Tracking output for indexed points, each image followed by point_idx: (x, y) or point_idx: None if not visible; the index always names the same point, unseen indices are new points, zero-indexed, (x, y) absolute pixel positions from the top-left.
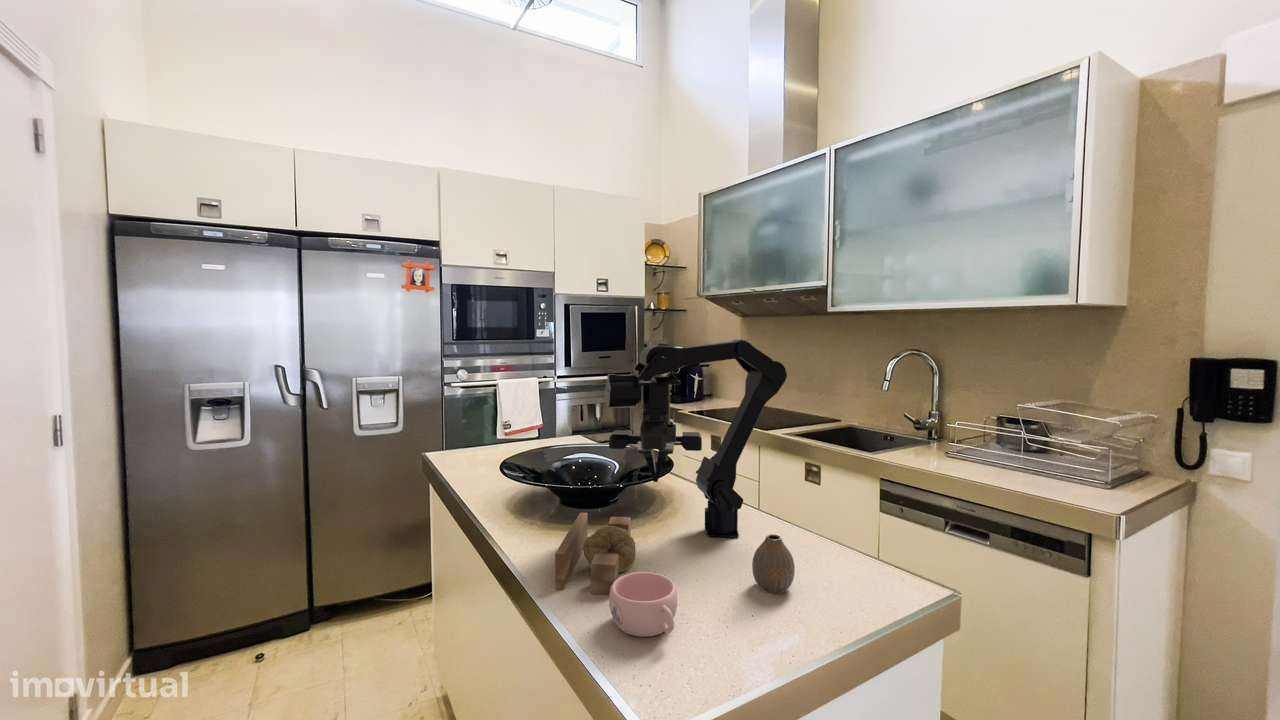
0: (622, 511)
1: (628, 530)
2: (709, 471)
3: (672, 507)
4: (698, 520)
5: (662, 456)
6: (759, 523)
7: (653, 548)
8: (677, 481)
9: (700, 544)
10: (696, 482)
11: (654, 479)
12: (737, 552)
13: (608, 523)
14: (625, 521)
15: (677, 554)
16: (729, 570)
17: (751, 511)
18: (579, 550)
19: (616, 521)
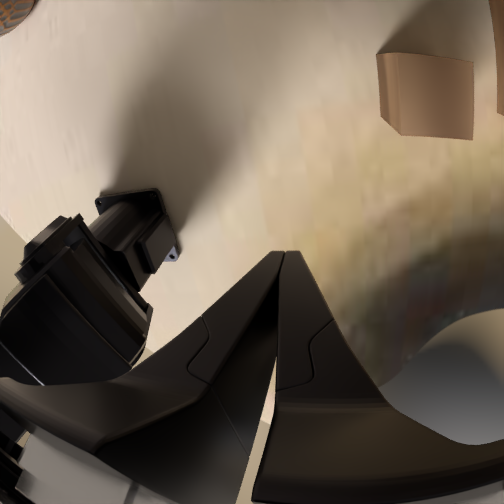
0: (409, 320)
1: (390, 59)
2: (36, 321)
3: None
4: (209, 286)
5: (124, 395)
6: None
7: (296, 72)
8: None
9: (165, 135)
10: (145, 336)
11: (290, 256)
12: (81, 117)
13: (472, 65)
14: (414, 86)
15: (212, 49)
16: (82, 19)
17: None
18: (500, 2)
19: (448, 85)
